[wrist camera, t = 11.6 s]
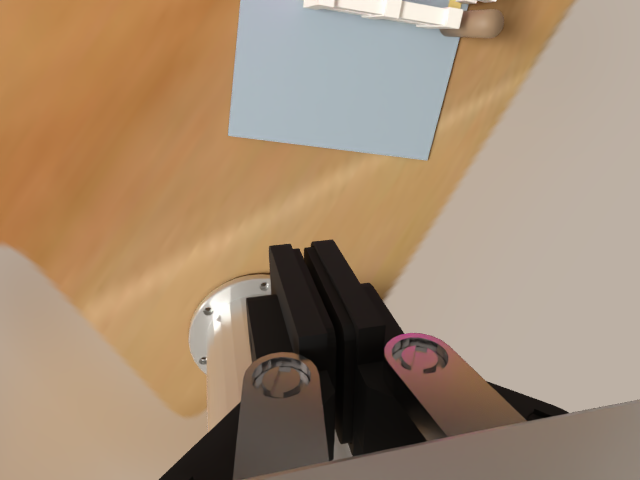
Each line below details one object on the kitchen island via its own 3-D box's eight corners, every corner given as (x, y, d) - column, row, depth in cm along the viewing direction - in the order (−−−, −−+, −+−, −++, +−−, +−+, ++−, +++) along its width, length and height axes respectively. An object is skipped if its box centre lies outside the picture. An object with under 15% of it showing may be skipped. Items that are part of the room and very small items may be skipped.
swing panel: (433, 12, 36) (466, 10, 31) (430, 29, 36) (462, 29, 32) (305, -11, 33) (321, -17, 28) (303, 7, 33) (318, 4, 29)
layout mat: (425, 159, 41) (428, 160, 41) (227, 134, 36) (228, 136, 36) (479, -44, 35) (482, -45, 35) (250, -106, 30) (250, -108, 30)
